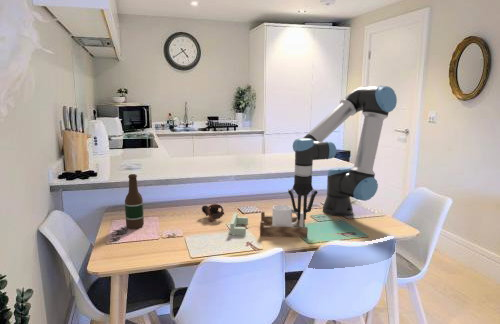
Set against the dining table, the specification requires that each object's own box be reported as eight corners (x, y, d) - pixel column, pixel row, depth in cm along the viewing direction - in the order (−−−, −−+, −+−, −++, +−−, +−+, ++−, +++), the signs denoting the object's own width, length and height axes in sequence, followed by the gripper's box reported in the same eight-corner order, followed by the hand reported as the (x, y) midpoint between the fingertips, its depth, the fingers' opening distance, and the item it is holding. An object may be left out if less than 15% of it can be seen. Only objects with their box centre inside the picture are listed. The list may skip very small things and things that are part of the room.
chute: (304, 225, 166) (304, 212, 165) (307, 237, 151) (307, 224, 150) (261, 223, 167) (261, 211, 166) (260, 235, 153) (260, 222, 152)
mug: (301, 232, 157) (302, 208, 155) (275, 235, 154) (276, 211, 152) (294, 225, 165) (294, 203, 163) (269, 227, 162) (269, 205, 160)
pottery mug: (226, 216, 178) (227, 205, 173) (218, 230, 171) (219, 219, 166) (205, 208, 181) (205, 197, 175) (196, 221, 174) (196, 210, 168)
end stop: (247, 223, 168) (247, 213, 167) (245, 235, 153) (245, 224, 152) (234, 222, 168) (234, 212, 167) (230, 234, 153) (230, 223, 153)
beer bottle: (127, 230, 157) (124, 177, 153) (124, 224, 164) (122, 173, 160) (145, 227, 161) (143, 175, 156) (142, 222, 168) (139, 172, 163)
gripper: (317, 173, 158) (314, 224, 162) (287, 172, 158) (286, 223, 162) (319, 176, 150) (317, 230, 154) (288, 176, 151) (287, 229, 155)
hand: (301, 226), depth 158 cm, fingers closed
